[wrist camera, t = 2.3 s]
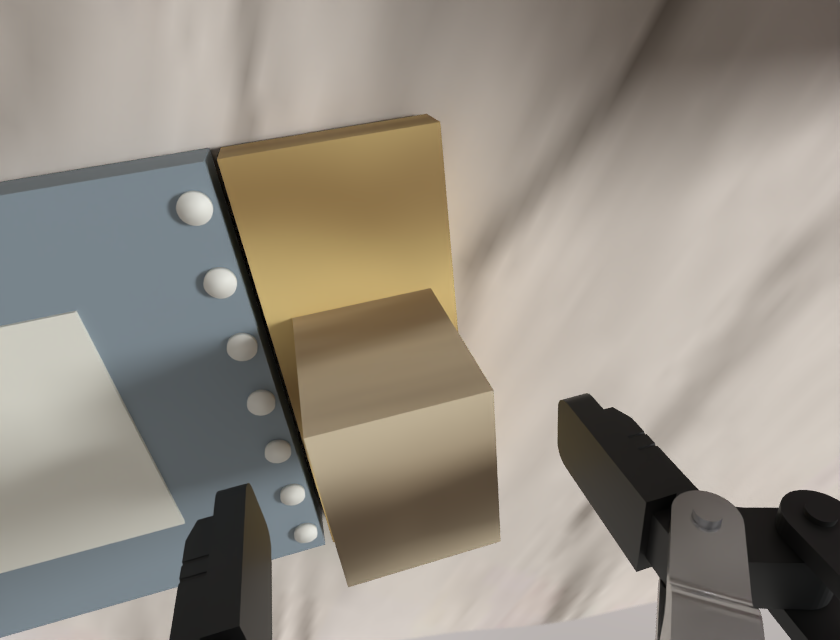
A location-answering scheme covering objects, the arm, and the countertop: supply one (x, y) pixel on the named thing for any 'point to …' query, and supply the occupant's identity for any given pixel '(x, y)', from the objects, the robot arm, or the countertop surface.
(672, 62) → the countertop surface
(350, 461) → the gold stepped piece
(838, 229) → the countertop surface
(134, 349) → the board
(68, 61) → the countertop surface
